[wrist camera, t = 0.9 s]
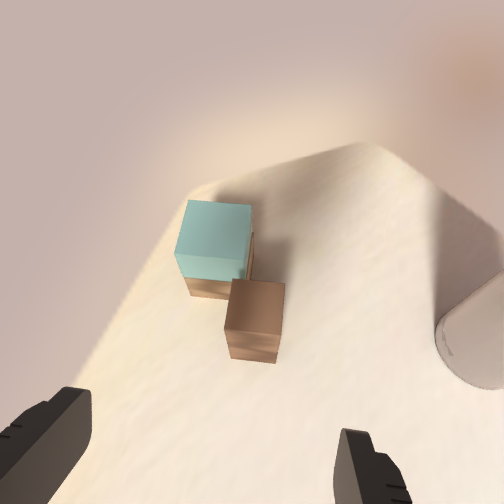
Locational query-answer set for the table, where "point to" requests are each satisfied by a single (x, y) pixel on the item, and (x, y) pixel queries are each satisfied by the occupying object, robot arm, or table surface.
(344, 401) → the table surface
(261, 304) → the post
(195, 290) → the tower base
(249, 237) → the tower top
